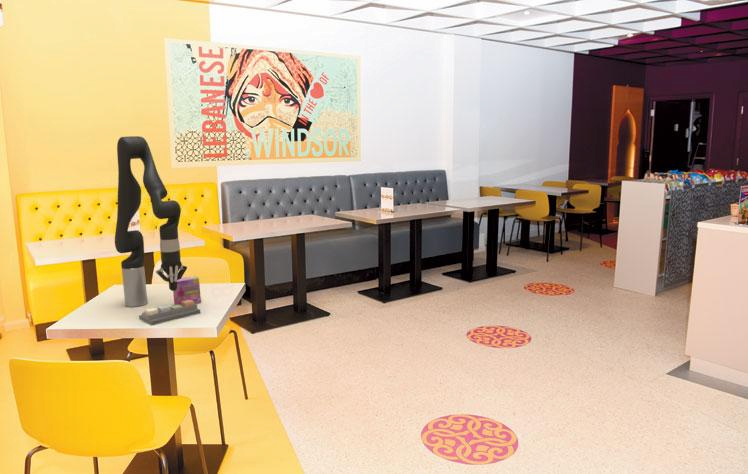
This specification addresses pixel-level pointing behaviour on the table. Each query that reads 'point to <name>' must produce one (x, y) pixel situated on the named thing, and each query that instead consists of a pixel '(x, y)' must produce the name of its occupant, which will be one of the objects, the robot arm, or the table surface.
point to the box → (187, 290)
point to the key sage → (176, 307)
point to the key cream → (151, 311)
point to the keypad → (170, 314)
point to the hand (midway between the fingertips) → (173, 290)
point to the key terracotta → (187, 303)
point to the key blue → (163, 308)
